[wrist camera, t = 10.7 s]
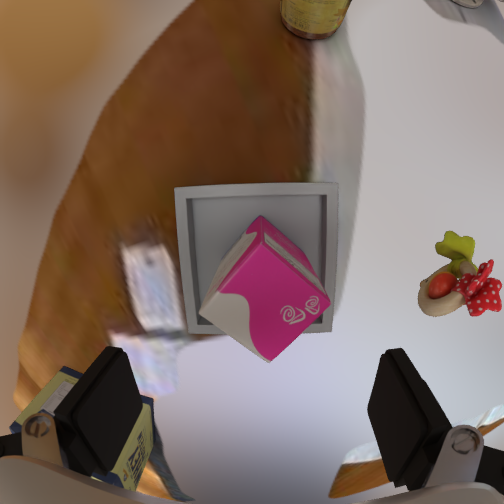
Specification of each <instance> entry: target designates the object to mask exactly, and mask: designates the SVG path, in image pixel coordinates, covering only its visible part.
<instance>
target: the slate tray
mask: <svg viewBox="0 0 504 504" xmlns="http://www.w3.org/2000/svg"><path fill="white" fill-rule="evenodd" d="M174 190H175V207H176V222H177V234H178V246H179V257H180V267H181V276H182V285H183V294H184V302H185V310H186V317H187V324H188V331H189V333H194V334H226V333H225V332H224V331H222V330H221V329H219V328H218V327H217V326H215V325H214V324H212V323H211V322H210V321H208V320H207V319H205V318H204V317H203V316H201V315H200V314H199V310H200V308H201V306H202V303H203V301H204V299H205V296H206V294H207V292H208V289H209V287H210V285H211V283H212V280H213V278H214V276H215V274H216V272H217V269H218V267H219V265H220V262H221V259H222V257H223V256H224V255H225V254H226V252H227V251H228V250H229V249H230V248H231V246H232V245H233V244H234V243H235V242H236V241H237V239H238V238H239V237H240V236H241V235H242V234H243V232H244V231H245V230H246V229H247V228H248V227H249V226H250V224H251V223H252V222H253V221H254V220H255V219H256V218H257V217H258V216H259V215H261V216H263V217H264V218H265V219H266V220H268V221H269V222H270V223H271V224H272V225H273V226H275V227H276V228H277V229H278V230H279V231H280V232H281V233H283V234H284V235H285V236H286V237H287V238H288V239H289V240H291V241H292V242H293V243H294V244H295V245H296V246H297V247H298V248H300V249H301V250H302V251H303V252H304V253H305V255H306V257H307V258H308V260H309V262H310V264H311V266H312V268H313V270H314V271H315V273H316V275H317V277H318V278H319V280H320V282H321V284H322V286H323V288H324V289H325V291H326V293H327V295H328V297H329V299H330V301H331V305H330V306H329V307H328V308H327V309H326V310H325V311H324V312H323V313H322V314H321V315H320V316H319V317H318V318H317V319H316V320H315V321H314V322H313V323H312V324H311V325H310V326H309V327H308V328H306V329H305V330H304V331H303V332H302V333H320V332H331V331H332V323H333V312H334V299H335V285H336V267H337V244H338V183H319V182H290V183H245V184H221V185H203V186H188V187H178V188H174Z"/></svg>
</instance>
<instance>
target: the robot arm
mask: <svg viewBox="0 0 504 504" xmlns="http://www.w3.org/2000/svg"><path fill="white" fill-rule="evenodd" d="M452 1H454V2H456V3H458V4H460V5H462V6H465V7H469V8H476V7H478V6H480V5H481V4H482V3H483V0H452ZM499 1H501V2H504V0H499ZM142 409H143V402H142V399H141V396H140V393H139V390H138V387H137V384H136V381H135V378H134V375H133V372H132V369H131V366H130V362H129V359H128V355H127V353H126V352H124V351H123V349H122V348H118V347H111V346H107V347H106V348H105V349H104V350H103V351H102V353H101V354H100V355H99V356H98V357H97V358H96V360H95V361H94V362H93V363H92V364H91V366H90V367H89V368H88V369H87V370H86V372H85V373H84V374H83V375H82V376H81V378H80V379H79V380H78V381H77V383H76V384H75V385H74V386H73V387H72V389H71V390H70V391H69V392H68V394H67V395H66V396H65V397H64V399H63V400H62V401H61V402H60V404H59V405H58V406H57V407H56V409H55V410H54V411H53V412H54V414H55V416H54V417H53V418H52V417H51V416H50V415H48V414H46V413H36V414H33V415H31V416H29V417H28V418H27V419H26V420H25V421H24V422H23V424H22V429H21V432H18V433H14V434H9V435H5V436H0V504H190V503H184V502H178V501H173V500H168V499H163V498H158V497H154V496H150V495H146V494H142V493H137V492H134V491H130V490H127V489H124V488H120V487H117V486H114V485H111V484H108V483H105V482H102V481H99V480H96V479H93V478H92V477H91V475H92V473H93V472H94V473H97V474H99V475H102V476H105V477H106V476H107V474H108V472H109V471H112V470H113V468H114V466H115V464H116V462H117V460H118V458H119V456H120V454H121V452H122V450H123V448H124V446H125V444H126V442H127V440H128V438H129V436H130V433H131V431H132V429H133V427H134V425H135V423H136V421H137V419H138V417H139V415H140V413H141V411H142ZM367 410H368V416H369V419H370V422H371V425H372V428H373V431H374V434H375V437H376V440H377V444H378V447H379V450H380V453H381V456H382V460H383V463H384V466H385V470H386V473H387V477H388V479H389V481H390V482H392V481H393V482H394V486H395V488H396V487H400V486H404V485H406V486H407V489H408V490H409V492H405V493H401V494H397V495H393V496H389V497H384V498H379V499H374V500H370V501H364V502H358V503H351V504H504V451H501V450H498V449H494V448H491V447H488V446H484V439H483V436H482V434H481V433H480V431H479V430H477V429H476V428H475V427H472V426H470V425H458V426H456V427H454V428H453V427H452V425H451V424H450V422H449V420H448V418H447V417H446V415H445V413H444V412H443V410H442V408H441V406H440V405H439V403H438V401H437V400H436V398H435V397H434V395H433V393H432V392H431V390H430V388H429V387H428V385H427V383H426V382H425V381H424V380H423V379H422V378H421V376H420V375H419V373H418V371H417V370H416V368H415V367H414V365H413V364H412V362H411V360H410V359H409V357H408V356H407V354H406V353H405V351H404V350H403V349H402V348H397V349H388V350H386V352H385V354H382V355H381V358H380V362H379V366H378V370H377V374H376V378H375V382H374V386H373V389H372V393H371V396H370V400H369V403H368V409H367Z"/></svg>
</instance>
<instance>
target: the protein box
mask: <svg viewBox="0 0 504 504" xmlns="http://www.w3.org/2000/svg"><path fill="white" fill-rule="evenodd" d="M82 375H83V374H82V373H79V372H77V371H75V370H72V369H70V368H68V367H65V366H64V367H63V368H62V369H61V370H60V371H59V372H58V373H57V374H56V375H55V376H54V377H53V378H52V379H51V380H50V382H49V383H48V384H47V385H46V386H45V387H44V388H43V389H42V390H41V391H40V393H39V394H38V395H37V396H36V397H35V398H34V399H33V400H32V401H31V403H30V404H29V405H28V406H27V407H26V408H25V409H24V411H23V412H22V413H21V414H20V415H19V416H18V417H17V419H16V420H15V421H14V422H13V423H12V425H11V426H10V427H9V429H10V430H11V432H12V434H14V433H18V432H21V429H22V424H23V422H24V421H25V420H26V419H27V418H28V417H29V416H31V415H33V414H36V413H46V414H48V415H50V416H51V417H52V418H53V417H54V416H55V414H54V412H53V411H54V410H55V409H56V407H57V406H58V405H59V404H60V402H61V401H62V400H63V399H64V397H65V396H66V395H67V394H68V392H69V391H70V390H71V389H72V387H73V386H74V385H75V384H76V383H77V381H78V380H79V379H80V378H81V376H82ZM140 396H141V399H142V402H143V409H142V411H141V413H140V415H139V417H138V419H137V421H136V423H135V425H134V427H133V429H132V431H131V433H130V436H129V438H128V440H127V442H126V444H125V446H124V448H123V450H122V452H121V454H120V456H119V458H118V460H117V462H116V464H115V466H114V468H113V470H112V471H109V472H108V474H107V476H106V477H105V476H102V475H99V474H97V473H94V472H93V473H92V475H91V477H92V478H93V479H96V480H99V481H102V482H105V483H108V484H111V485H114V486H117V487H120V488H124V489H127V490H130V491H134V492H136V489H137V486H138V484H139V481H140V478H141V475H142V473H143V470H144V468H145V465H146V462H147V460H148V457H149V455H150V452H151V450H152V447H153V445H154V442H155V426H154V408H153V399H152V398H148V397H145V396H142V395H140Z"/></svg>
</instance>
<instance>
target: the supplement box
mask: <svg viewBox="0 0 504 504" xmlns="http://www.w3.org/2000/svg"><path fill="white" fill-rule="evenodd" d="M330 305H331V301H330V299H329V297H328V295H327V293H326V291H325V289H324V288H323V286H322V284H321V282H320V280H319V278H318V277H317V275H316V273H315V271H314V270H313V268H312V266H311V264H310V262H309V260H308V258H307V257H306V255H305V253H304V252H303V251H302V250H301V249H300V248H298V247H297V246H296V245H295V244H294V243H293V242H292V241H291V240H289V239H288V238H287V237H286V236H285V235H284V234H283V233H281V232H280V231H279V230H278V229H277V228H276V227H275V226H273V225H272V224H271V223H270V222H269V221H268V220H266V219H265V218H264V217H263V216H261V215H259V216H258V217H257V218H256V219H255V220H254V221H253V222H252V223H251V224H250V226H249V227H248V228H247V229H246V230H245V231H244V232H243V234H242V235H241V236H240V237H239V238H238V239H237V241H236V242H235V243H234V244H233V245H232V246H231V248H230V249H229V250H228V251H227V252H226V254H225V255H224V256H223V257H222V259H221V262H220V265H219V267H218V269H217V272H216V274H215V276H214V278H213V280H212V283H211V285H210V287H209V289H208V292H207V294H206V296H205V299H204V301H203V303H202V306H201V308H200V310H199V314H200V315H201V316H203V317H204V318H205V319H207V320H208V321H210V322H211V323H212V324H214V325H215V326H217V327H218V328H219V329H221V330H222V331H224V332H225V333H226V334H228V335H229V336H231V337H232V338H234V339H235V340H236V341H238V342H239V343H240V344H242V345H243V346H244V347H246V348H247V349H249V350H250V351H252V352H253V353H255V354H256V355H257V356H259V357H260V358H262V359H263V360H265V361H266V362H268V363H270V362H271V361H272V360H273V359H274V358H275V357H277V356H278V355H279V354H280V353H281V352H282V351H283V350H284V349H285V348H286V347H287V346H289V345H290V344H291V343H292V342H293V341H294V340H295V339H296V338H297V337H298V336H299V335H300V334H301V333H302V332H303V331H304V330H305V329H306V328H308V327H309V326H310V325H311V324H312V323H313V322H314V321H315V320H316V319H317V318H318V317H319V316H320V315H321V314H322V313H323V312H324V311H325V310H326V309H327V308H328V307H329V306H330Z"/></svg>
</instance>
